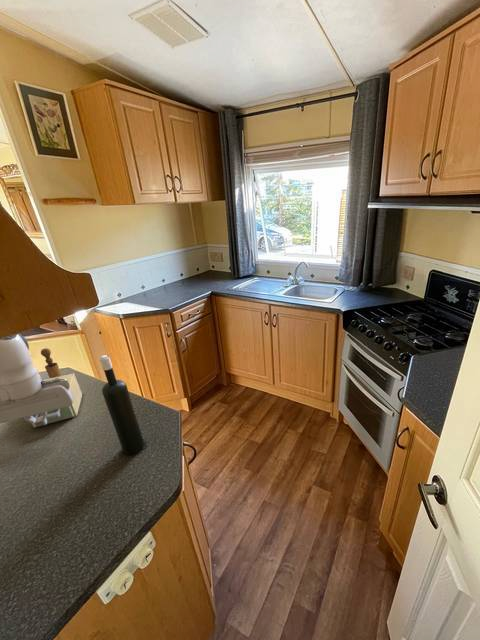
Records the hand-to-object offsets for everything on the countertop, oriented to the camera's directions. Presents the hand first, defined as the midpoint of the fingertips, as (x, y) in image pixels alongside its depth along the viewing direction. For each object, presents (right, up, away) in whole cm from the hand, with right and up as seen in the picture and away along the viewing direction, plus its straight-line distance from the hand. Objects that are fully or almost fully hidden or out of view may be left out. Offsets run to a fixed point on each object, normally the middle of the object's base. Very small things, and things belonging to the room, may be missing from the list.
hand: (41, 424), depth 87 cm
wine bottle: (+29, -6, -2) cm, 30 cm away
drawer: (-5, 0, +13) cm, 14 cm away
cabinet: (-7, +1, +17) cm, 18 cm away
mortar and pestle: (-15, +6, +29) cm, 33 cm away
